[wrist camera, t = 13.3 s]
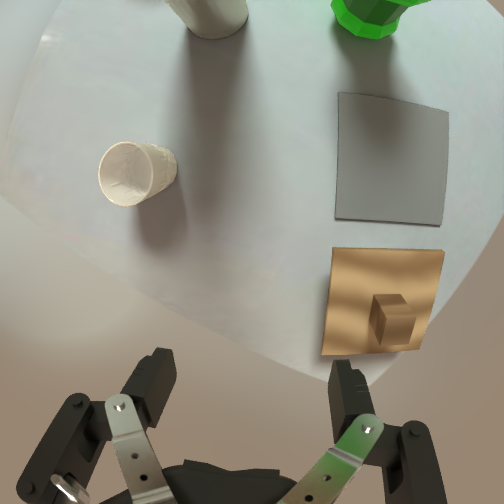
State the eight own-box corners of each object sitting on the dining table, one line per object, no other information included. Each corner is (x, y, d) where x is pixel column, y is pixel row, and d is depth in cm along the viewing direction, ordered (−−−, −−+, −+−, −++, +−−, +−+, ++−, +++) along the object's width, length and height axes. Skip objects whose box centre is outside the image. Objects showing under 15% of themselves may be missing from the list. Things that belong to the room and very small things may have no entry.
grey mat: (337, 92, 34) (338, 91, 34) (446, 112, 33) (448, 111, 32) (334, 217, 41) (335, 217, 40) (440, 224, 39) (441, 225, 38)
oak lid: (332, 247, 35) (343, 269, 29) (441, 249, 34) (467, 269, 27) (321, 350, 40) (325, 383, 34) (417, 345, 39) (432, 373, 32)
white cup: (154, 204, 42) (122, 219, 33) (125, 165, 41) (88, 172, 31) (192, 171, 40) (166, 178, 31) (161, 131, 39) (128, 128, 29)
